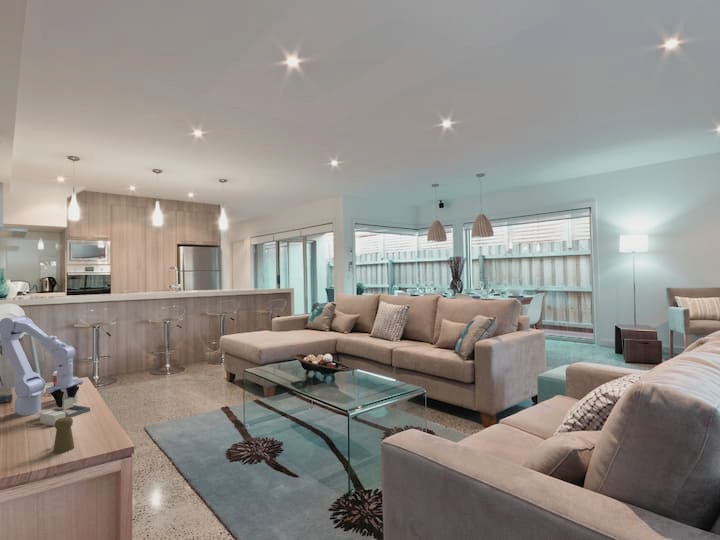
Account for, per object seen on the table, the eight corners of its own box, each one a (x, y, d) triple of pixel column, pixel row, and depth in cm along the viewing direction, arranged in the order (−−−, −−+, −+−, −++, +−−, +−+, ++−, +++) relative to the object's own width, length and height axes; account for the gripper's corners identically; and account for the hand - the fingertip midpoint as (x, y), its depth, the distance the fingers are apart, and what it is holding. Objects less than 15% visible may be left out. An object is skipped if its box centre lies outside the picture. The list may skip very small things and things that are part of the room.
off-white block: (48, 424, 159) (48, 414, 159) (58, 421, 163) (58, 411, 163) (55, 425, 158) (55, 415, 158) (65, 422, 162) (65, 412, 162)
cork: (60, 445, 143) (60, 415, 143) (78, 445, 144) (78, 414, 144) (48, 453, 137) (48, 421, 137) (67, 452, 138) (67, 421, 138)
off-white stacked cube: (39, 423, 161) (39, 413, 161) (50, 419, 165) (50, 410, 165) (46, 424, 160) (46, 414, 160) (57, 420, 164) (57, 411, 164)
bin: (47, 418, 171) (47, 411, 171) (69, 410, 179) (69, 404, 179) (68, 421, 166) (68, 414, 166) (90, 414, 175) (90, 407, 175)
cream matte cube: (57, 408, 172) (57, 399, 172) (67, 405, 176) (67, 396, 176) (64, 409, 171) (64, 400, 171) (73, 406, 175) (73, 397, 175)
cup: (67, 407, 184) (67, 381, 184) (52, 406, 185) (52, 380, 185) (82, 402, 192) (82, 377, 192) (68, 401, 193) (68, 376, 193)
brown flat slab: (23, 425, 162) (23, 422, 162) (42, 419, 169) (42, 416, 169) (51, 431, 157) (51, 427, 157) (69, 424, 163) (69, 421, 163)
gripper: (53, 379, 166) (53, 411, 166) (87, 370, 179) (87, 400, 179) (42, 377, 168) (42, 409, 168) (76, 369, 182) (76, 399, 182)
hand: (65, 405), depth 174 cm, fingers closed on cream matte cube, 4 cm apart
